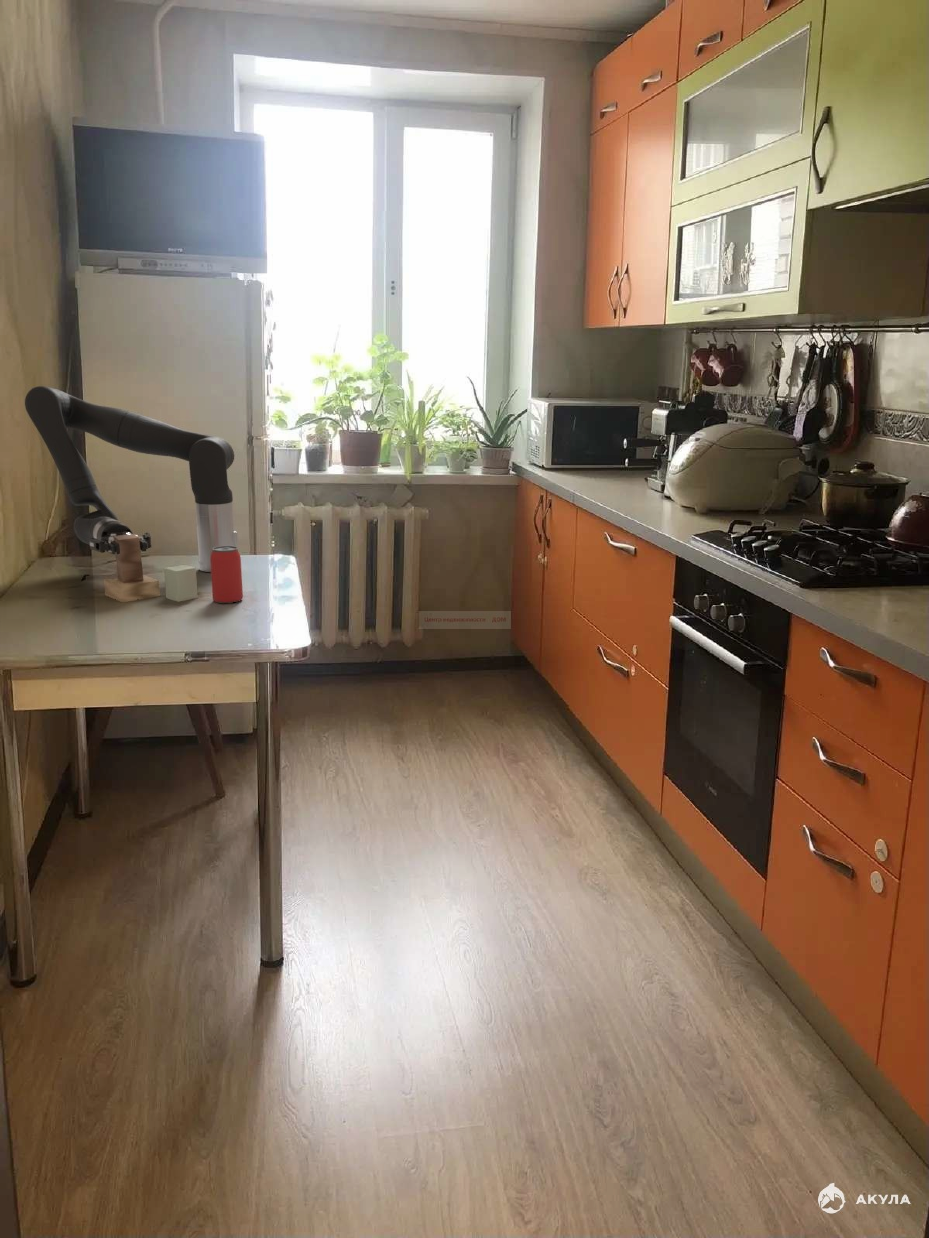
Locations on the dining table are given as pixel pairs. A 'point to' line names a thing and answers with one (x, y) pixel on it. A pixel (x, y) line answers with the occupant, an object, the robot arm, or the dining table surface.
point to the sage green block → (180, 582)
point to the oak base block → (131, 589)
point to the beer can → (226, 574)
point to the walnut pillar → (129, 558)
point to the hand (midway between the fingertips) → (131, 548)
